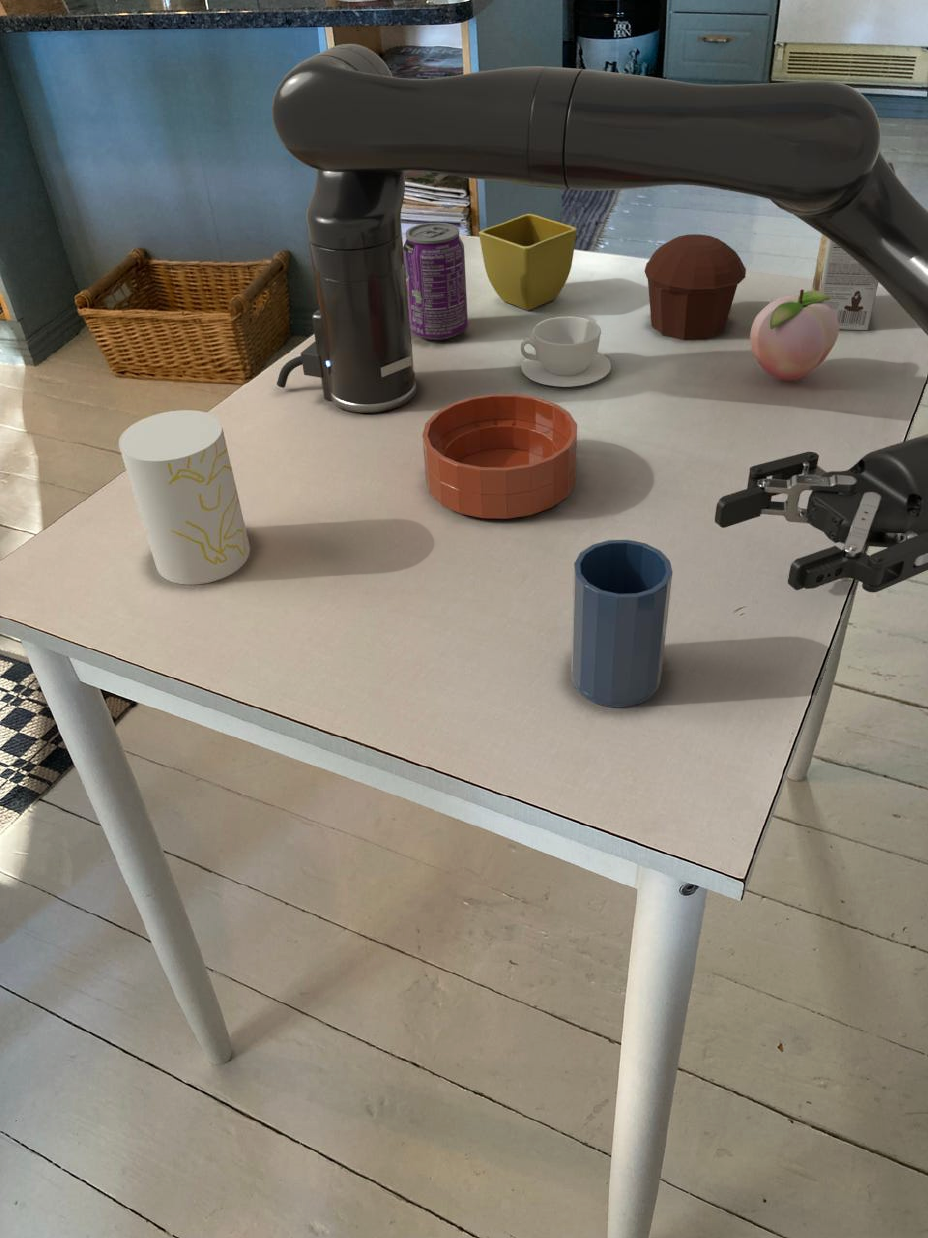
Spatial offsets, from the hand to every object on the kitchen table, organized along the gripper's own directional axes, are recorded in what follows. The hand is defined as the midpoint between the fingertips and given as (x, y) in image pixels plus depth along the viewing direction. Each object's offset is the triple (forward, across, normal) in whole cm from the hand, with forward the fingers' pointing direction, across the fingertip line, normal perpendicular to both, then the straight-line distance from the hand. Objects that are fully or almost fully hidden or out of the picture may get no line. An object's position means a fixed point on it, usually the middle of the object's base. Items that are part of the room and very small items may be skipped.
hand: (753, 544), depth 71 cm
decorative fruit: (-29, -32, +8) cm, 44 cm away
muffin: (-29, -49, +8) cm, 57 cm away
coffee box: (-45, -42, +8) cm, 63 cm away
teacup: (-10, -46, +8) cm, 48 cm away
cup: (+35, -30, +8) cm, 46 cm away
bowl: (+6, -28, +8) cm, 30 cm away
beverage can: (-2, -62, +8) cm, 63 cm away
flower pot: (-15, -65, +8) cm, 67 cm away
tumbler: (+11, 0, +8) cm, 14 cm away
